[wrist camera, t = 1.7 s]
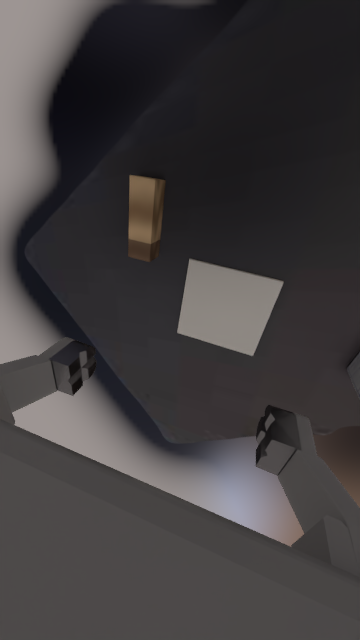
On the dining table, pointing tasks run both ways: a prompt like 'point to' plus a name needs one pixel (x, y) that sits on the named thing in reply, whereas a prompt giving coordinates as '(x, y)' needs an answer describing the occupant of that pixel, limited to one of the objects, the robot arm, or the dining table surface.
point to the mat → (226, 305)
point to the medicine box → (355, 373)
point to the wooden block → (145, 217)
